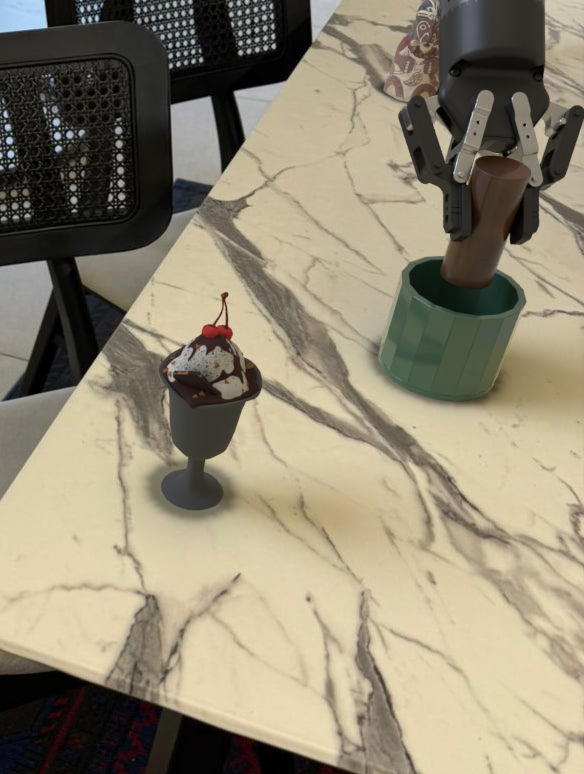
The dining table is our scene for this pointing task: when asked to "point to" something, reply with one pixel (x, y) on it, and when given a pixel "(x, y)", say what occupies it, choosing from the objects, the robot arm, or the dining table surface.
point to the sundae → (205, 408)
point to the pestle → (486, 221)
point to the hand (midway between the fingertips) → (491, 239)
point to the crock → (448, 332)
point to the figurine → (416, 58)
